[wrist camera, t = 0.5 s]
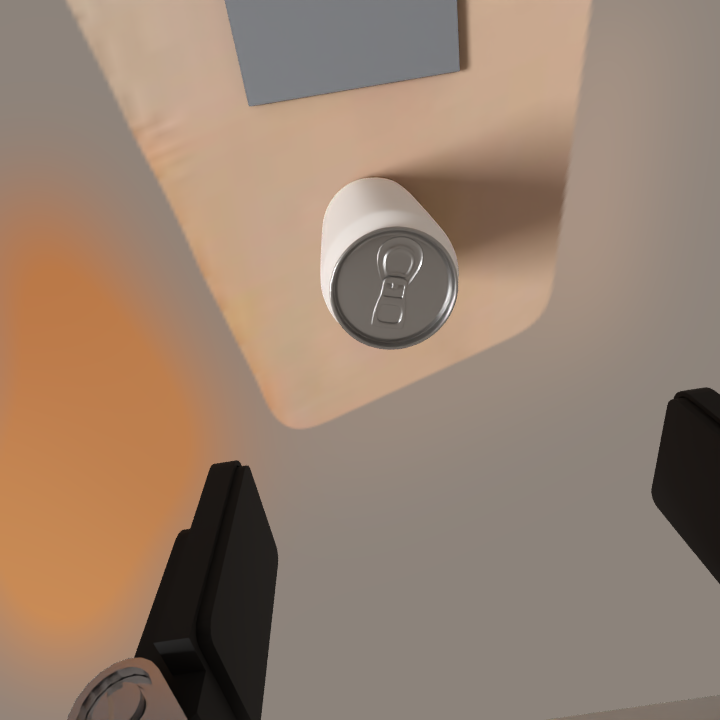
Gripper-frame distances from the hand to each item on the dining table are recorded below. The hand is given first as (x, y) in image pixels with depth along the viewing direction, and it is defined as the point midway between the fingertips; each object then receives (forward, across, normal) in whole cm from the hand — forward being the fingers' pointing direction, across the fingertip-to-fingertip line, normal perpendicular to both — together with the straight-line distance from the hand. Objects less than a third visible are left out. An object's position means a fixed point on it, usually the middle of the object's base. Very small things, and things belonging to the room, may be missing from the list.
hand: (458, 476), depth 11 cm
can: (+24, 0, 0) cm, 24 cm away
